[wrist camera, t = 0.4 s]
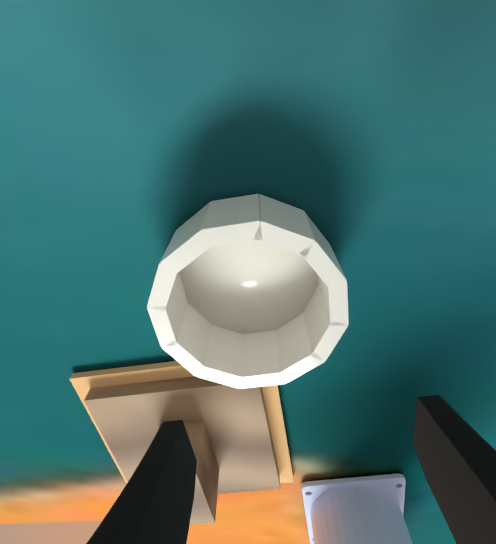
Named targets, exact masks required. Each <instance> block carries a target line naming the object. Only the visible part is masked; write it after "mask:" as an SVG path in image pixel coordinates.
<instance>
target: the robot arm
mask: <svg viewBox="0 0 496 544" xmlns="http://www.w3.org/2000/svg"><path fill="white" fill-rule="evenodd" d="M413 443H414V446H415V449H416V452H417V455H418V458H419V461H420V463H421V466H422V469H423V472H424V474H425V477H426V480H427V482H428V484H429V486H430V488H431V490H432V492H433V495H434V497H435V499H436V501H437V503H438V505H439V507H440V509H441V512H442V514H443V516H444V518H445V520H446V522H447V524H448V526H449V528H450V530H451V532H452V535H453V537H454V539H455V541H456V543H457V544H496V450H495V449H494V448H492V447H491V446H490V445H489V444H488V443H487V442H486V441H485V440H484V439H483V438H482V437H481V436H480V435H479V434H478V433H477V432H476V431H475V430H474V429H473V428H472V427H471V426H470V425H469V424H468V423H467V422H466V421H465V420H463V419H462V418H461V417H460V416H459V414H458V413H457V412H456V411H455V410H454V409H453V408H452V407H451V406H450V405H449V404H448V403H447V402H446V401H445V400H444V399H443V398H442V397H440V396H439V395H435V396H425V397H417V407H416V417H415V428H414V439H413ZM196 466H197V460H196V457H195V454H194V451H193V448H192V446H191V443H190V440H189V437H188V434H187V431H186V428H185V426H184V423H183V420H176V421H166V422H163V423H162V424H161V426H160V428H159V430H158V432H157V433H156V435H155V437H154V439H153V441H152V442H151V444H150V446H149V448H148V449H147V451H146V453H145V455H144V456H143V458H142V460H141V461H140V463H139V465H138V466H137V468H136V470H135V471H134V473H133V475H132V476H131V478H130V480H129V481H128V483H127V484H126V486H125V488H124V489H123V491H122V492H121V494H120V496H119V497H118V499H117V500H116V502H115V503H114V505H113V506H112V508H111V509H110V511H109V512H108V514H107V515H106V517H105V518H104V519H103V521H102V522H101V524H100V525H99V527H98V528H97V530H96V531H95V533H94V534H93V535H92V537H91V538H90V539H89V541H88V542H87V544H186V541H187V535H188V530H189V524H190V518H191V513H192V507H193V501H194V493H195V481H196ZM405 485H406V480H405V477H404V475H403V474H387V475H375V476H364V477H352V478H340V479H329V480H317V481H306V482H303V483H302V484H301V489H302V496H303V502H304V508H305V515H306V521H307V527H308V534H309V540H310V544H412V541H411V538H410V535H409V532H408V529H407V526H406V523H405V520H404V517H403V511H404V498H405Z"/></svg>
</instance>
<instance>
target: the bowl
mask: <svg viewBox="0 0 496 544" xmlns="http://www.w3.org/2000/svg"><path fill="white" fill-rule="evenodd" d="M147 309H148V312H149V315H150V318H151V321H152V323H153V326H154V329H155V332H156V335H157V337H158V340H159V343H160V346H161V348H162V349H163V350H164V351H165V352H167V353H168V354H169V355H170V356H171V357H173V358H174V359H175V360H176V361H177V362H179V363H180V364H181V365H182V366H183V367H184V368H186V369H187V370H188V371H189V372H190V373H192V374H193V375H194V376H196V377H198V378H202V379H205V380H209V381H213V382H216V383H220V384H223V385H227V386H230V387H234V388H238V389H239V388H240V389H245V388H254V387H263V386H272V385H281V384H285V383H286V384H287V383H289V382H290V381H292V380H294V379H296V378H297V377H299V376H301V375H303V374H304V373H306V372H308V371H310V370H312V369H313V368H315V367H317V366H319V365H320V364H322V363H324V362H325V361H326V360H327V358H328V357H329V355H330V353H331V352H332V350H333V349H334V347H335V346H336V344H337V342H338V341H339V339H340V338H341V336H342V335H343V333H344V331H345V330H346V328H347V327H348V324H349V323H348V296H347V280H346V278H345V276H344V273H343V271H342V269H341V267H340V265H339V263H338V261H337V258H336V256H335V254H334V252H333V250H332V248H331V246H330V244H329V242H328V241H327V240H326V239H325V237H324V236H323V235H322V233H321V232H320V231H319V230H318V228H317V227H316V226H315V224H314V223H313V222H312V220H311V219H310V218H309V217H308V215H307V214H306V213H305V211H303V210H301V209H299V208H296V207H293V206H291V205H288V204H285V203H283V202H280V201H277V200H275V199H272V198H269V197H267V196H264V195H261V194H259V195H258V194H253V195H246V196H240V197H234V198H227V199H221V200H215V201H211V202H209V203H208V204H207V205H206V206H204V207H203V208H202V209H201V210H200V211H198V212H197V213H196V214H195V215H193V216H192V217H191V218H190V219H189V220H187V221H186V222H185V223H184V224H183V225H181V226H180V227H179V228H178V229H177V230H176V231H175V233H174V235H173V237H172V239H171V241H170V243H169V245H168V247H167V249H166V251H165V253H164V255H163V257H162V259H161V261H160V263H159V267H158V270H157V274H156V277H155V280H154V284H153V287H152V291H151V294H150V298H149V301H148V304H147Z"/></svg>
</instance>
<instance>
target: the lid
mask: <svg viewBox="0 0 496 544" xmlns="http://www.w3.org/2000/svg"><path fill="white" fill-rule="evenodd" d="M84 402H85V404H86V406H87V407H88V409H89V411H90V413H91V415H92V417H93V419H94V420H95V422H96V424H97V426H98V428H99V430H100V432H101V433H102V435H103V437H104V439H105V441H106V443H107V445H108V446H109V448H110V450H111V452H112V454H113V456H114V457H115V459H116V461H117V463H118V465H119V467H120V469H121V470H122V472H123V474H124V476H125V478H126V480H127V482H128V481H129V480H130V478H131V476H132V475H133V473H134V471H135V470H136V468H137V466H138V465H139V463H140V461H141V460H142V458H143V456H144V455H145V453H146V451H147V449H148V448H149V446H150V444H151V442H152V441H153V439H154V437H155V435H156V433H157V432H158V430H159V428H160V426H161V424H162V423H163V422H166V421H176V420H183V423H184V426H185V428H186V431H187V434H188V437H189V440H190V443H191V446H192V448H193V451H194V454H195V457H196V460H197V466H196V481H195V493H194V501H193V507H192V513H191V518H190V524H203V523H215V515H216V504H217V494H224V493H236V492H248V491H259V490H271V489H280V475H279V471H278V466H277V461H276V456H275V451H274V446H273V441H272V436H271V431H270V426H269V421H268V416H267V411H266V406H265V401H264V396H263V391H262V387H254V388H245V389H240V388H239V389H238V388H234V387H230V386H227V385H223V384H220V383H216V382H213V381H209V380H205V379H202V378H198V377H196V376H193V377H184V378H176V379H167V380H158V381H150V382H141V383H132V384H124V385H115V386H106V387H98V388H90V390H89V392H88V394H87V395H86V397H85V399H84ZM190 524H189V525H190Z"/></svg>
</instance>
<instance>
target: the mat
mask: <svg viewBox="0 0 496 544" xmlns="http://www.w3.org/2000/svg"><path fill="white" fill-rule="evenodd" d="M193 376H194V375H193V374H192V373H190V372H189V371H188V370H187V369H186V368H184V367H183V366H182V365H181V364H180V363H179V362H177V361H170V362H162V363H154V364H145V365H137V366H129V367H120V368H112V369H103V370H95V371H87V372H78V373H73V374H72V376H71V377H70V381H71V382H72V384H73V386H74V388H75V390H76V392H77V393H78V395H79V397H80V399H81V401H82V403H83V405H84V406H85V408H86V410H87V412H88V414H89V416H90V417H91V419H92V421H93V423H94V425H95V427H96V428H97V430H98V432H99V434H100V436H101V438H102V439H103V441H104V443H105V445H106V447H107V449H108V451H109V452H110V454H111V456H112V458H113V460H114V462H115V463H116V465H117V467H118V469H119V471H120V473H121V474H122V476H123V478H124V480H125V482H126V484H127V483H128V482H127V480H126V478H125V476H124V474H123V472H122V470H121V469H120V467H119V465H118V463H117V461H116V459H115V457H114V456H113V454H112V452H111V450H110V448H109V446H108V445H107V443H106V441H105V439H104V437H103V435H102V433H101V432H100V430H99V428H98V426H97V424H96V422H95V420H94V419H93V417H92V415H91V413H90V411H89V409H88V407H87V406H86V404H85V402H84V399H85V397H86V395H87V394H88V392H89V390H90V388H98V387H106V386H115V385H124V384H132V383H141V382H150V381H158V380H167V379H176V378H184V377H193ZM262 391H263V396H264V401H265V406H266V411H267V416H268V421H269V426H270V431H271V436H272V441H273V446H274V451H275V456H276V461H277V466H278V471H279V475H280V483H290V482H294V479H293V472H292V466H291V460H290V454H289V448H288V442H287V436H286V431H285V425H284V419H283V413H282V407H281V401H280V396H279V390H278V385H272V386H263V387H262Z"/></svg>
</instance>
